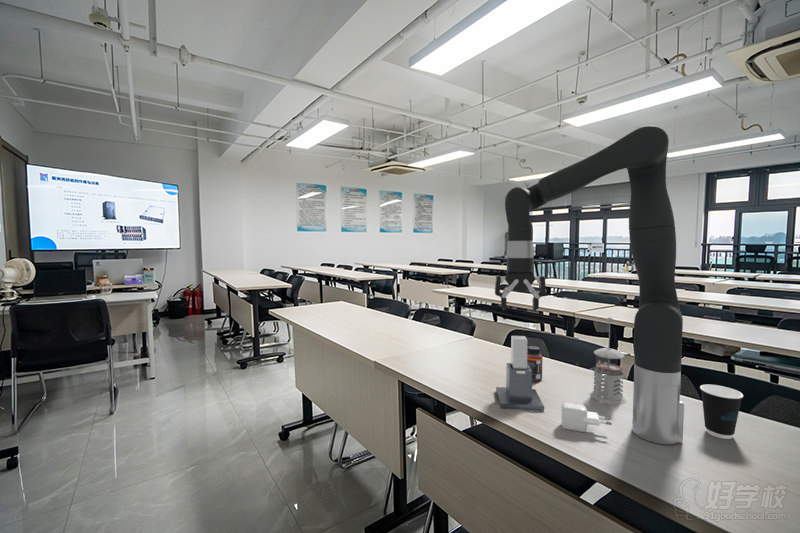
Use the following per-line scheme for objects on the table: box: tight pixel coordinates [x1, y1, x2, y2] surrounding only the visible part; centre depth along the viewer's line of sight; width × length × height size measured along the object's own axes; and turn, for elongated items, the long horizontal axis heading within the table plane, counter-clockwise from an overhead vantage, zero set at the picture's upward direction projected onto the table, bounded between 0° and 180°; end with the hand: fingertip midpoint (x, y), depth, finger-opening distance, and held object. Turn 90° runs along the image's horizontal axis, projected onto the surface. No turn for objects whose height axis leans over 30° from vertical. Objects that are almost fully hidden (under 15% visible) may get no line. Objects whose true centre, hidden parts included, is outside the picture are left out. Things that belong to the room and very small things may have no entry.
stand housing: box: [495, 362, 545, 412], centre depth 107 cm, size 12×12×10 cm
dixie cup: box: [699, 384, 744, 440], centre depth 87 cm, size 8×8×11 cm
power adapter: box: [561, 402, 613, 433], centre depth 90 cm, size 11×5×6 cm, turn 67°
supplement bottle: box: [527, 345, 543, 382], centre depth 124 cm, size 6×6×11 cm
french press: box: [589, 316, 627, 405], centre depth 108 cm, size 10×12×25 cm
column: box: [510, 335, 528, 370], centre depth 106 cm, size 4×4×18 cm
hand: (519, 310), depth 105 cm, fingers open, 8 cm apart
